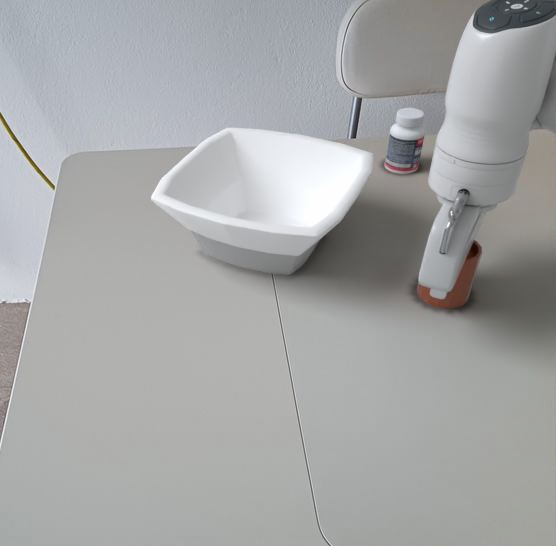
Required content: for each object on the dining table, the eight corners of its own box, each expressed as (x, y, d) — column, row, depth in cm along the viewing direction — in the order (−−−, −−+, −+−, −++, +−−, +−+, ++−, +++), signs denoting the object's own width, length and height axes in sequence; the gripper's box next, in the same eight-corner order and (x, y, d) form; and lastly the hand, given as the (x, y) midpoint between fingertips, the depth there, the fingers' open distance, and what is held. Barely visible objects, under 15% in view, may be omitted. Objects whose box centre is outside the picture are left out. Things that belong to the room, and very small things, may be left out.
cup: (441, 274, 82) (453, 227, 77) (478, 299, 78) (493, 250, 73) (406, 291, 80) (416, 243, 75) (442, 316, 76) (455, 268, 71)
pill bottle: (416, 177, 101) (427, 121, 95) (382, 173, 102) (390, 118, 96) (419, 161, 104) (429, 107, 98) (386, 158, 106) (394, 104, 100)
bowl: (376, 215, 93) (387, 148, 86) (316, 317, 77) (323, 245, 70) (225, 183, 102) (224, 120, 95) (142, 269, 86) (133, 200, 79)
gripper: (484, 225, 60) (452, 336, 70) (522, 137, 73) (491, 241, 82) (416, 211, 63) (394, 320, 72) (465, 128, 75) (441, 229, 85)
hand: (446, 277), depth 77 cm, fingers closed on cup, 6 cm apart
